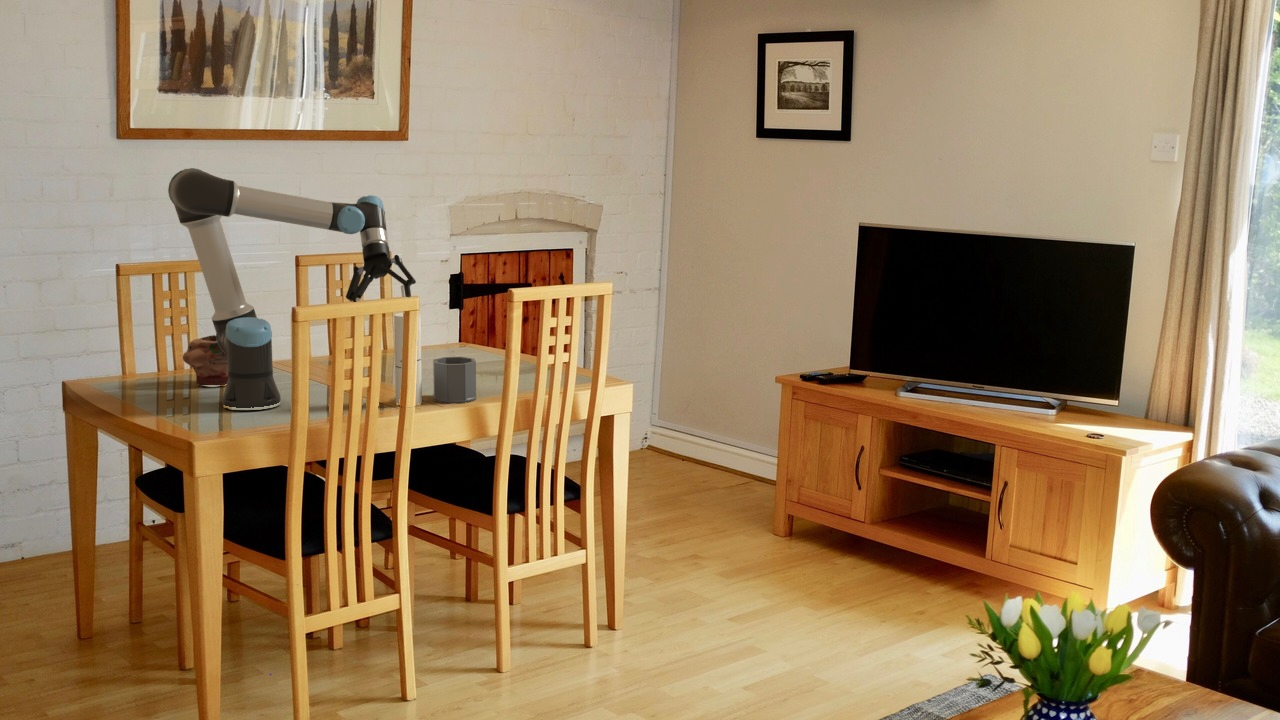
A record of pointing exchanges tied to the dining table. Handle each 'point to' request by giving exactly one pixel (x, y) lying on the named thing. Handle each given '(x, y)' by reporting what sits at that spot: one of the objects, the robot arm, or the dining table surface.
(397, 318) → the cylindrical container
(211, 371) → the decorative planter
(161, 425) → the dining table surface
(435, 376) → the holder sleeve
